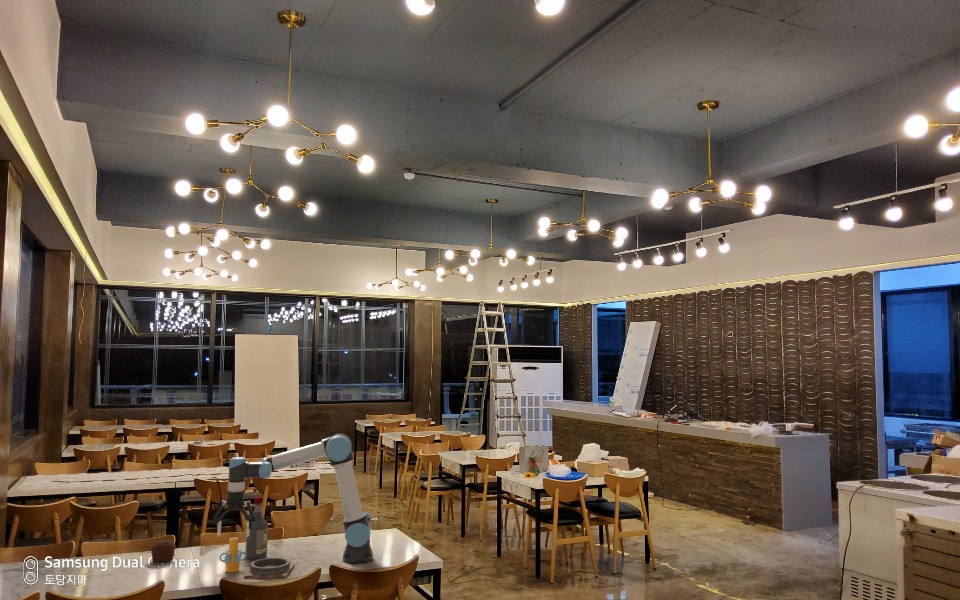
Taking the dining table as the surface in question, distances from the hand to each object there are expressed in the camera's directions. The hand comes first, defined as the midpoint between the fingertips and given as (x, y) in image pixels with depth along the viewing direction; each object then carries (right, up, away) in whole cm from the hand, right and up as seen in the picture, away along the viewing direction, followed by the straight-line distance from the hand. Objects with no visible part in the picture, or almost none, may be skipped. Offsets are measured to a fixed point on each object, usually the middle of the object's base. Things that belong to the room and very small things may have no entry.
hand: (233, 536), depth 322 cm
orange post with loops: (0, -16, -2) cm, 16 cm away
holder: (+18, -16, -2) cm, 24 cm away
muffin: (-40, -17, +13) cm, 45 cm away
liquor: (+4, -19, +22) cm, 29 cm away
